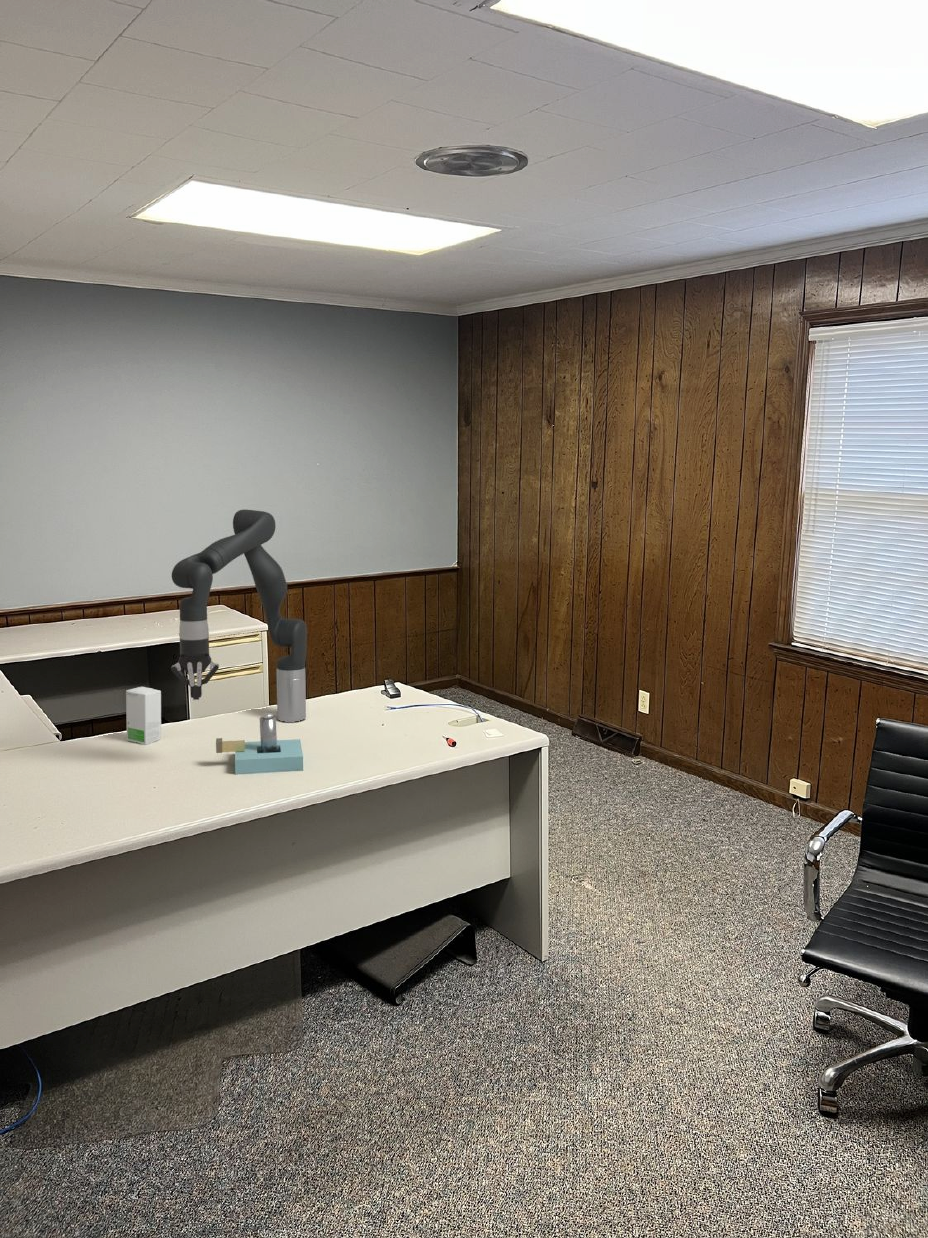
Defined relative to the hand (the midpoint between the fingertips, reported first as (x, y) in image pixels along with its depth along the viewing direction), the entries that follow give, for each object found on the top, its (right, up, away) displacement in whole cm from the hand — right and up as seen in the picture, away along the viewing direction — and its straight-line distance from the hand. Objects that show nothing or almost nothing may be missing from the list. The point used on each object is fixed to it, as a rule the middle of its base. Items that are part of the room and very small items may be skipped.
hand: (196, 699), depth 246 cm
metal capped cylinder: (+18, -18, +7) cm, 26 cm away
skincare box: (-23, -15, +26) cm, 38 cm away
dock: (+18, -19, +7) cm, 27 cm away
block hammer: (+9, -15, +5) cm, 18 cm away
